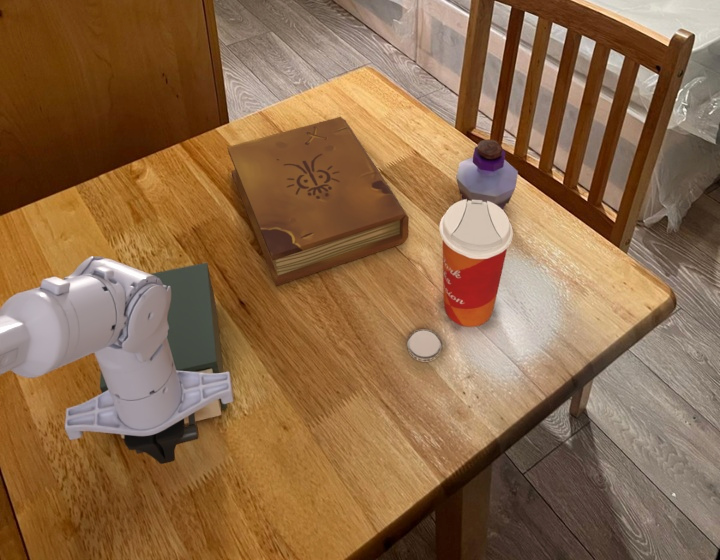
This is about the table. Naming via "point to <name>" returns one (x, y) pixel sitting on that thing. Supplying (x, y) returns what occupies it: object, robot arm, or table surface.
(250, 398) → the table surface
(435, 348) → the white bottle cap
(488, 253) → the coffee cup
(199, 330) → the cabinet
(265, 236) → the diary
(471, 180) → the potion bottle
